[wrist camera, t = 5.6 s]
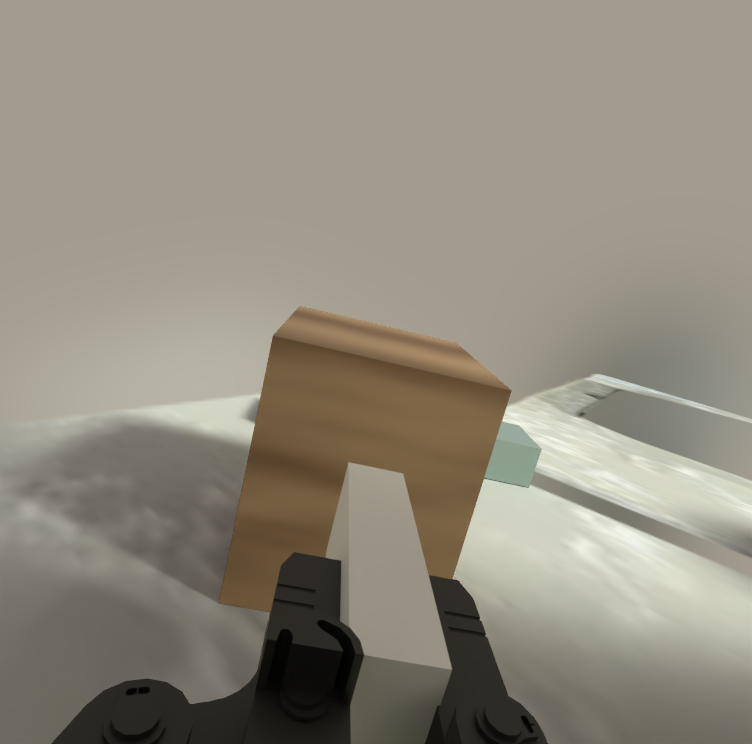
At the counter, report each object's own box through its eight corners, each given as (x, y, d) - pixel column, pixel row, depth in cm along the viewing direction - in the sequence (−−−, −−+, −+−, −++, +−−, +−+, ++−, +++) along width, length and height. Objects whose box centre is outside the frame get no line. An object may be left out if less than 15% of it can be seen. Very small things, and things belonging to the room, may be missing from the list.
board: (528, 487, 37) (541, 449, 36) (281, 435, 35) (289, 393, 34) (507, 459, 41) (518, 425, 41) (289, 412, 40) (297, 376, 39)
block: (432, 641, 19) (511, 390, 17) (218, 604, 18) (272, 335, 16) (406, 518, 28) (456, 343, 26) (260, 489, 27) (299, 305, 25)
